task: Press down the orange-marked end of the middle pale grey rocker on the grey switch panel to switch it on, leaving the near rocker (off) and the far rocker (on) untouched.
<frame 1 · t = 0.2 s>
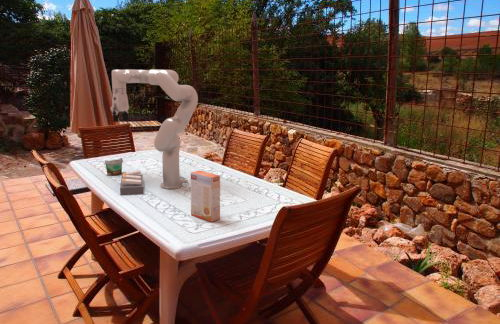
hand: (120, 120, 234), 37 cm above the table, tool pointing down, fingers open, 9 cm apart
rocker middle: (131, 177, 227), point 6 cm above the table, hinge at -8.0°
cracker box: (205, 217, 183), on the table
rocker far: (131, 173, 235), point 6 cm above the table, hinge at 8.0°
food container: (116, 175, 255), on the table
rocker near: (131, 181, 218), point 6 cm above the table, hinge at -8.0°
grey switch panel: (132, 187, 228), on the table
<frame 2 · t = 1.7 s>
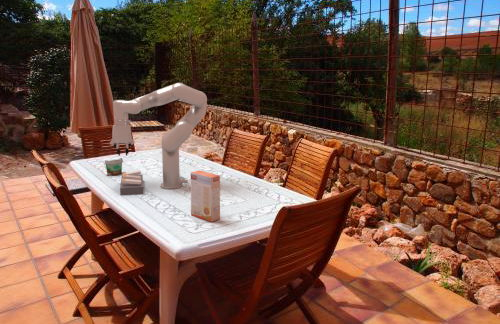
hand: (122, 155, 223), 19 cm above the table, tool pointing down, fingers open, 3 cm apart
nothing on the table moved.
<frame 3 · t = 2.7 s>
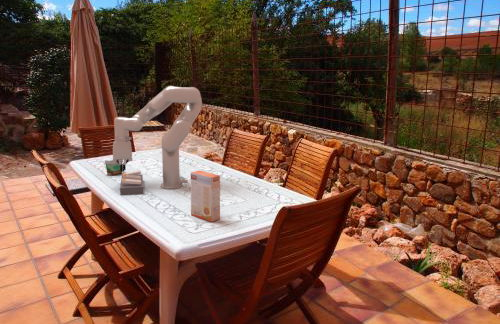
hand: (122, 171, 225), 10 cm above the table, tool pointing down, fingers closed
nothing on the table moved.
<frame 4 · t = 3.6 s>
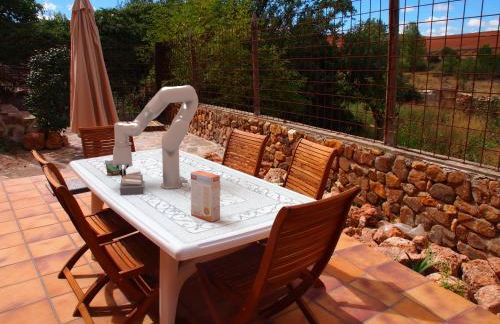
hand: (123, 176, 225), 7 cm above the table, tool pointing down, fingers closed
rocker middle: (131, 177, 227), point 6 cm above the table, hinge at -7.2°, touching gripper
everything else where it was.
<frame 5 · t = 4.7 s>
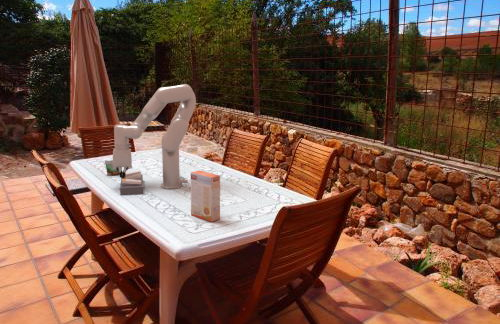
hand: (122, 178, 225), 6 cm above the table, tool pointing down, fingers closed
rocker middle: (131, 177, 227), point 6 cm above the table, hinge at 13.6°, touching gripper
everything else where it was.
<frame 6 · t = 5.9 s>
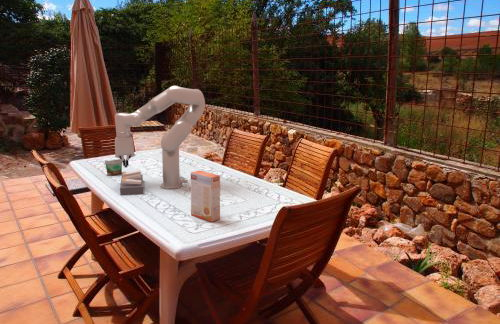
hand: (126, 167, 225), 12 cm above the table, tool pointing down, fingers closed
rocker middle: (131, 177, 227), point 6 cm above the table, hinge at 9.9°
everything else where it was.
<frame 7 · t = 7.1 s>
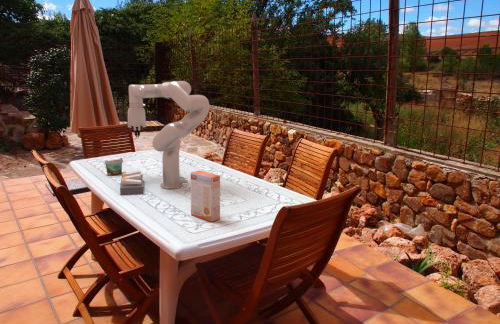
hand: (137, 136, 236), 27 cm above the table, tool pointing down, fingers closed
rocker middle: (131, 177, 227), point 6 cm above the table, hinge at 8.9°
everything else where it was.
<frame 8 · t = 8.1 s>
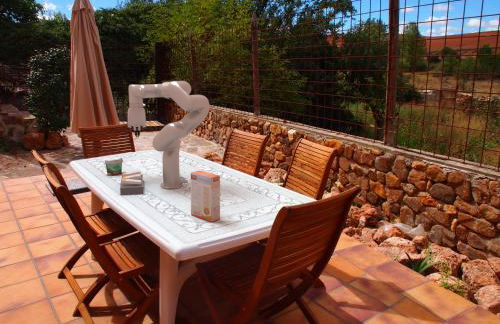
hand: (137, 136, 236), 27 cm above the table, tool pointing down, fingers closed
nothing on the table moved.
at the end: rocker middle at +9° (first picture: -8°); rocker far at +8° (first picture: +8°); rocker near at -8° (first picture: -8°) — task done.
